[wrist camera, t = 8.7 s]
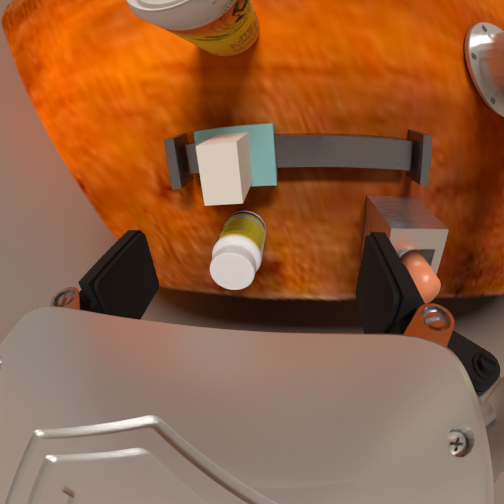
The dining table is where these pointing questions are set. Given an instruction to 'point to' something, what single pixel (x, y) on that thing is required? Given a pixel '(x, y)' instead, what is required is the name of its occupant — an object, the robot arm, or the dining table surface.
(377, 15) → the dining table surface
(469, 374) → the robot arm
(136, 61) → the dining table surface
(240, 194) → the carriage
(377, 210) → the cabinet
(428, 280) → the button
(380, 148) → the rail
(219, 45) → the beer can
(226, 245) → the supplement bottle
